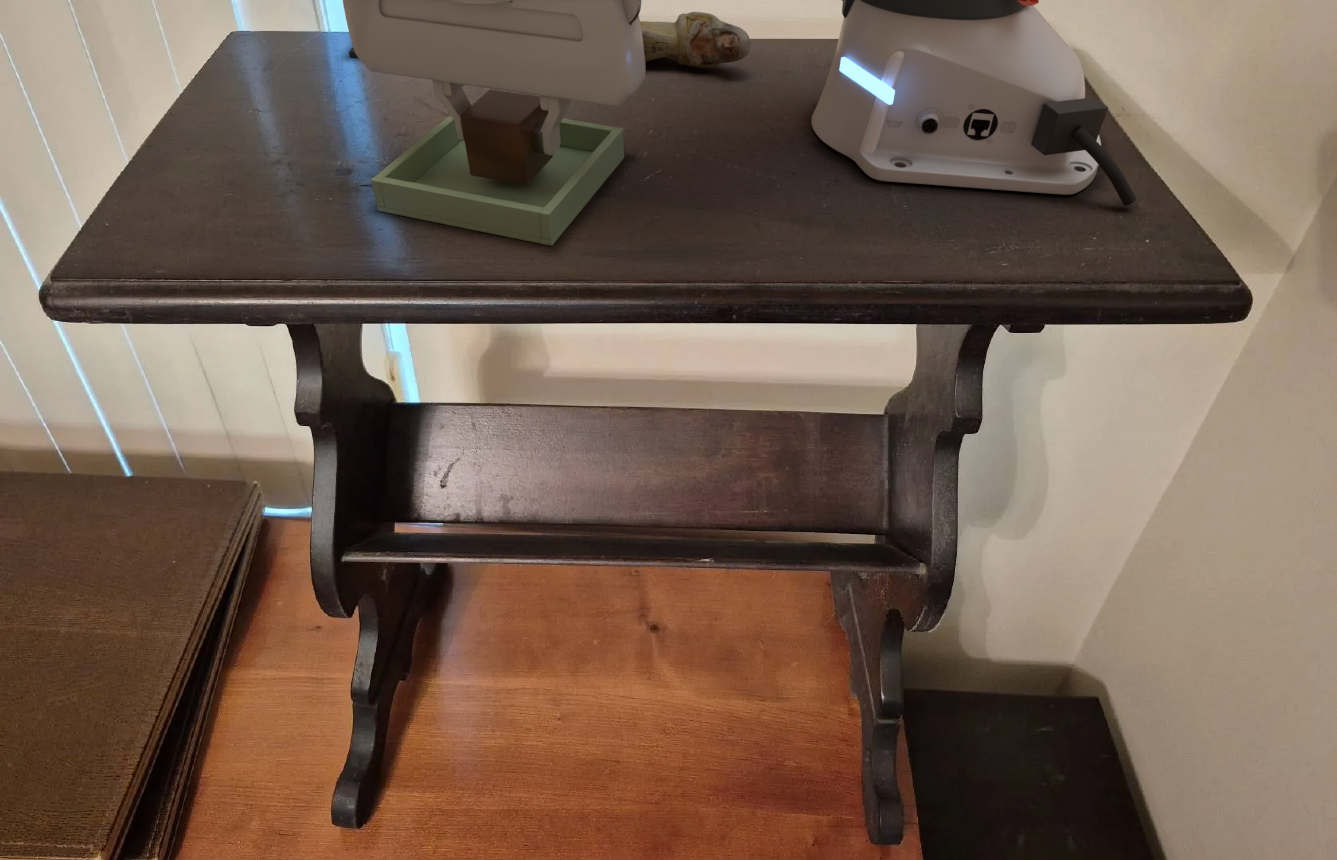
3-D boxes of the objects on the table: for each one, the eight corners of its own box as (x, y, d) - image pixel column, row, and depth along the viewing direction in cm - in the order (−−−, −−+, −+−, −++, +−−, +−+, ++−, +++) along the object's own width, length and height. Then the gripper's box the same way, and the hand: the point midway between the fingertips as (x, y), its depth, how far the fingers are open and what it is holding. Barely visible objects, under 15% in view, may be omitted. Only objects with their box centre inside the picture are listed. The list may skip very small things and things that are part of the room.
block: (553, 156, 65) (547, 97, 62) (527, 185, 62) (519, 124, 59) (498, 147, 66) (490, 88, 63) (470, 175, 63) (459, 114, 60)
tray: (624, 157, 68) (623, 127, 66) (551, 246, 59) (549, 214, 57) (469, 130, 71) (465, 101, 69) (377, 210, 62) (369, 179, 60)
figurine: (576, 40, 79) (733, 40, 73) (595, -4, 81) (750, -7, 75) (596, 83, 83) (745, 87, 78) (614, 41, 85) (761, 41, 80)
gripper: (657, -71, 53) (660, 146, 62) (364, -98, 58) (409, 107, 67) (619, -40, 48) (629, 188, 58) (306, -72, 53) (363, 143, 63)
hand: (509, 144), depth 63 cm, fingers closed on block, 4 cm apart
